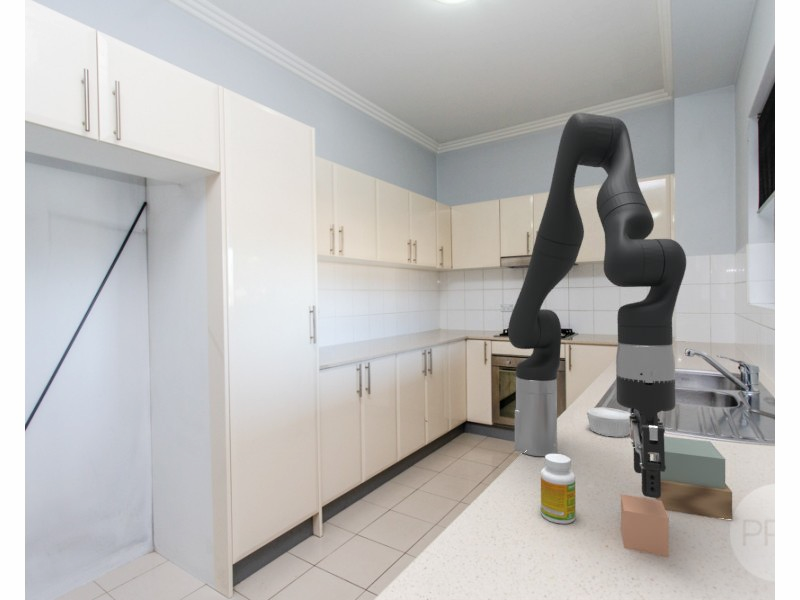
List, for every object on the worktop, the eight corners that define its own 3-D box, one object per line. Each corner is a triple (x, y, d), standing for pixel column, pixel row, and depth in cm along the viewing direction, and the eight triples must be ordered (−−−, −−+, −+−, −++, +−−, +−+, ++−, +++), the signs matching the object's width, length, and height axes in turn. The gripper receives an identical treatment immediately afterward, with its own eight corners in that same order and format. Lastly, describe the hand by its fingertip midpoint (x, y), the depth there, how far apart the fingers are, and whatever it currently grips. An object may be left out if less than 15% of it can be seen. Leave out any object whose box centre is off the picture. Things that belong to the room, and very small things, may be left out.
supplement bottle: (572, 528, 66) (572, 466, 66) (537, 518, 69) (537, 459, 69) (578, 513, 71) (577, 455, 71) (545, 504, 74) (544, 449, 74)
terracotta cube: (624, 548, 61) (624, 510, 61) (620, 529, 66) (620, 494, 66) (668, 557, 59) (668, 518, 59) (661, 536, 64) (661, 500, 64)
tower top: (661, 480, 73) (661, 451, 73) (653, 461, 81) (653, 435, 81) (725, 489, 69) (725, 459, 69) (710, 468, 77) (710, 441, 77)
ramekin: (638, 431, 113) (638, 411, 113) (627, 442, 105) (627, 421, 105) (594, 423, 121) (594, 405, 121) (581, 433, 112) (581, 413, 112)
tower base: (660, 510, 72) (660, 481, 72) (650, 486, 81) (650, 460, 81) (732, 522, 68) (732, 492, 68) (713, 495, 77) (713, 468, 77)
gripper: (612, 366, 70) (613, 463, 70) (621, 381, 57) (623, 500, 57) (664, 368, 67) (666, 469, 67) (686, 384, 54) (688, 510, 54)
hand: (646, 483), depth 62 cm, fingers open, 8 cm apart
